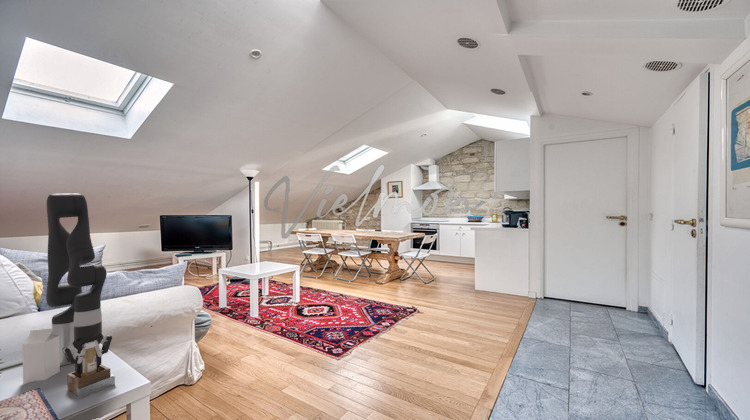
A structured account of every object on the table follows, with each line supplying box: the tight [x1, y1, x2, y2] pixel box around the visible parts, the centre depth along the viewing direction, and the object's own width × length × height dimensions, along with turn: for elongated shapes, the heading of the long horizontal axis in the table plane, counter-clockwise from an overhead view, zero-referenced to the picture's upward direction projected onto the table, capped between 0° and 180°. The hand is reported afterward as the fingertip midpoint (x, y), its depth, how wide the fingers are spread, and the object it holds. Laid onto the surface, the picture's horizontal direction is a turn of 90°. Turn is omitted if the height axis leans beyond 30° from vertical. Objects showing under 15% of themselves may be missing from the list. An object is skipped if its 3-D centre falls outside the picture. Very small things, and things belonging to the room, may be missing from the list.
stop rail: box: [76, 374, 116, 400], centre depth 114 cm, size 2×10×4 cm, turn 151°
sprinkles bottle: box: [80, 341, 97, 378], centre depth 117 cm, size 5×5×14 cm
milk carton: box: [22, 328, 61, 385], centre depth 125 cm, size 7×7×19 cm
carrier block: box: [66, 364, 111, 396], centre depth 117 cm, size 9×9×6 cm
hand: (88, 369), depth 117 cm, fingers closed on sprinkles bottle, 4 cm apart
